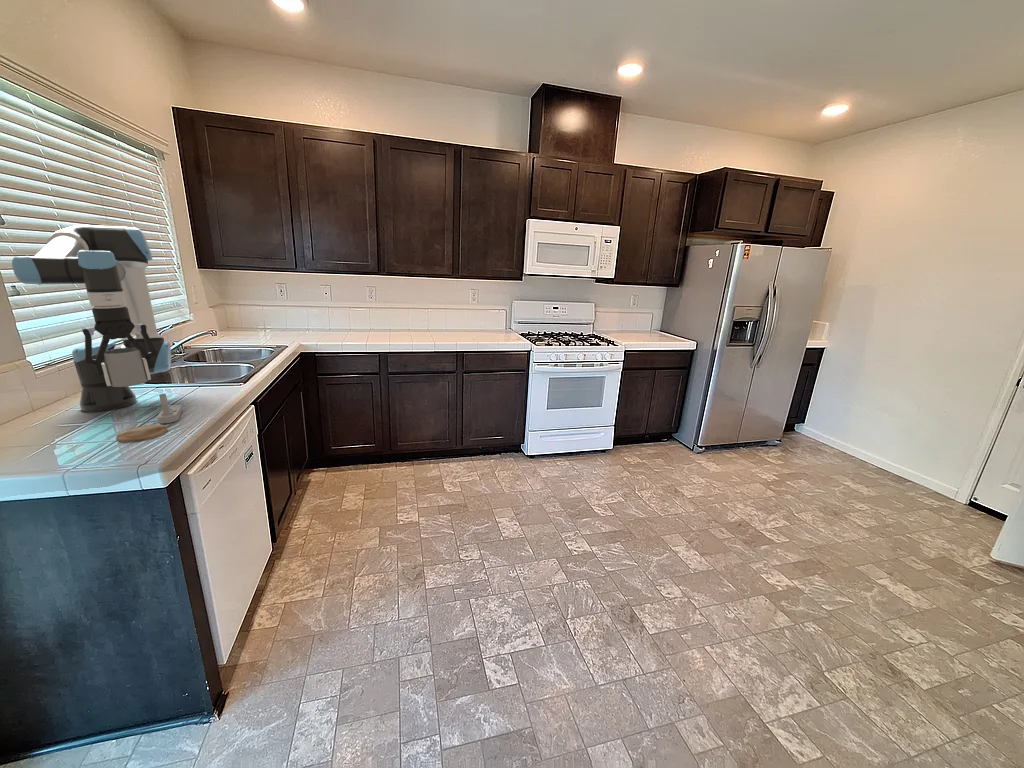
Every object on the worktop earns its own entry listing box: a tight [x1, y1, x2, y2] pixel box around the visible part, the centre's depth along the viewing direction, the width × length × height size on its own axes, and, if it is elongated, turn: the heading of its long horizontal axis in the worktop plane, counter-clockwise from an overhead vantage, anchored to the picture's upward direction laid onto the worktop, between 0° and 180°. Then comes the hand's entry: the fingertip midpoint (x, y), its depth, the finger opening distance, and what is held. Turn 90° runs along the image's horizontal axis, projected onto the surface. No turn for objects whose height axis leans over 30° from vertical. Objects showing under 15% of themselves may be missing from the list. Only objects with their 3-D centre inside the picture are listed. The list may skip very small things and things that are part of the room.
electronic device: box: [157, 393, 183, 424], centre depth 142 cm, size 5×10×15 cm
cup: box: [103, 348, 148, 387], centre depth 123 cm, size 8×8×10 cm
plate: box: [116, 423, 168, 443], centre depth 129 cm, size 12×12×1 cm
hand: (129, 381), depth 124 cm, fingers closed on cup, 8 cm apart
